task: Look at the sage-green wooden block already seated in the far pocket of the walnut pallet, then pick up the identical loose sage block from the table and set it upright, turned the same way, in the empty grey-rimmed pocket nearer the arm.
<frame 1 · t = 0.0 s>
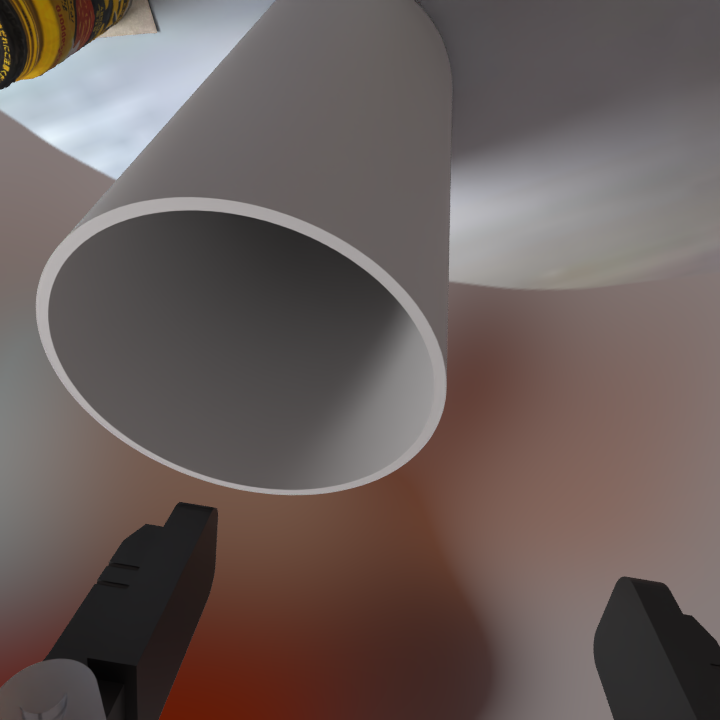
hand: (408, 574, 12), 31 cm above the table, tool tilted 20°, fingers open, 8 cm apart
cylinder vase: (350, 88, 36), on the table
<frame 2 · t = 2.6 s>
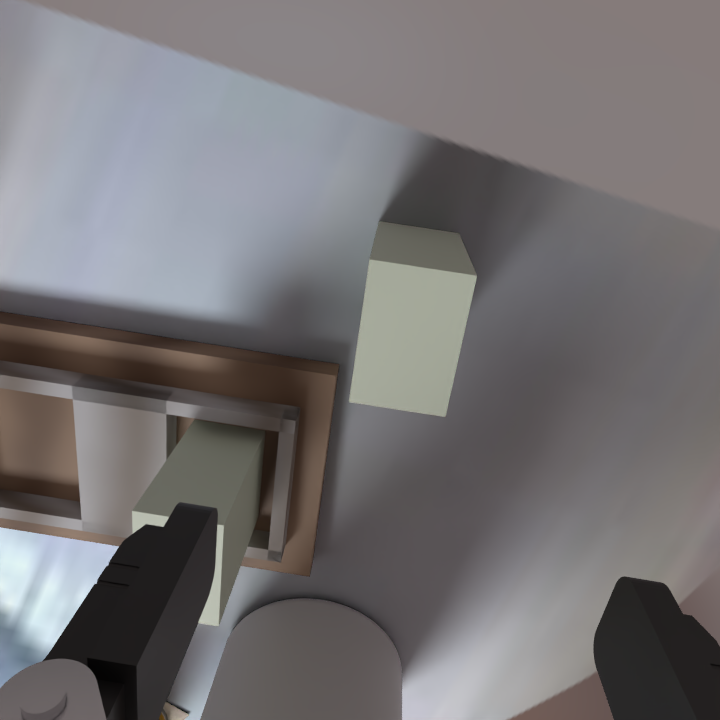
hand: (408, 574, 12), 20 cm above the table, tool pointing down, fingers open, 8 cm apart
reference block: (227, 469, 33), resting on pallet
pallet: (144, 441, 35), on the table
loose block: (408, 285, 30), on the table
condiment: (125, 716, 46), on the table
cylinder vase: (314, 656, 41), on the table
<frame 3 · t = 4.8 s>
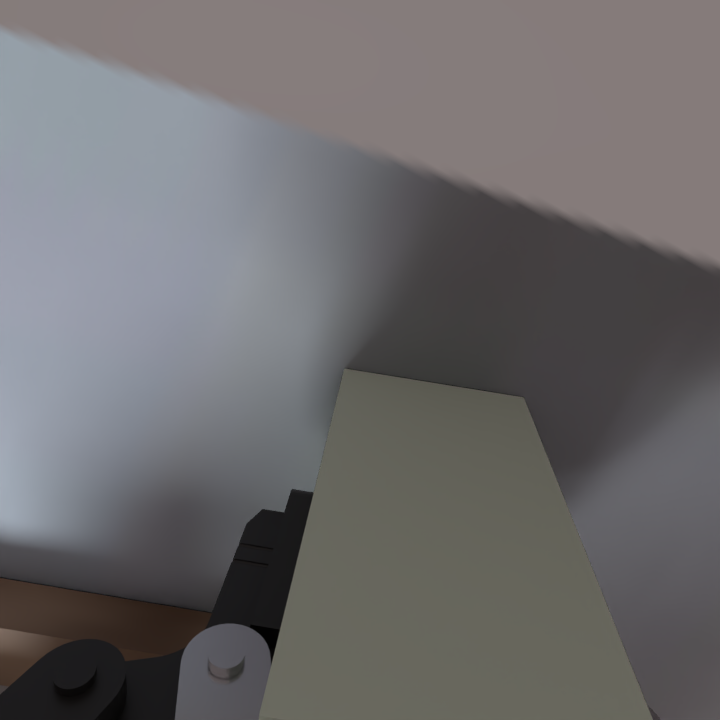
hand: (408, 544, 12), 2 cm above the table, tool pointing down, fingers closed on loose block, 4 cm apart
loose block: (409, 493, 14), on the table, touching gripper
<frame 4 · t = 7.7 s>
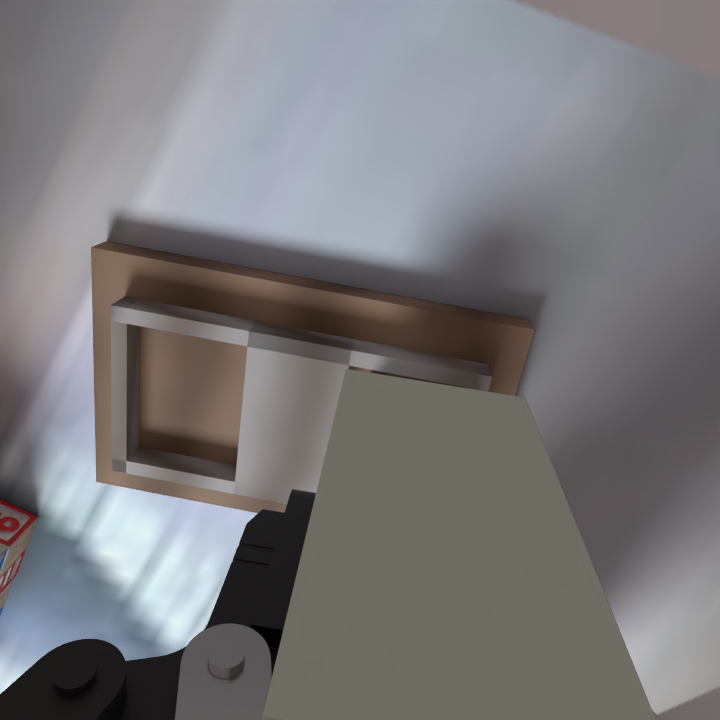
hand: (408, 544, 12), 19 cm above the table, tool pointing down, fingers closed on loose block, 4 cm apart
pallet: (299, 400, 32), on the table
loose block: (411, 493, 14), point 17 cm above the table, touching gripper
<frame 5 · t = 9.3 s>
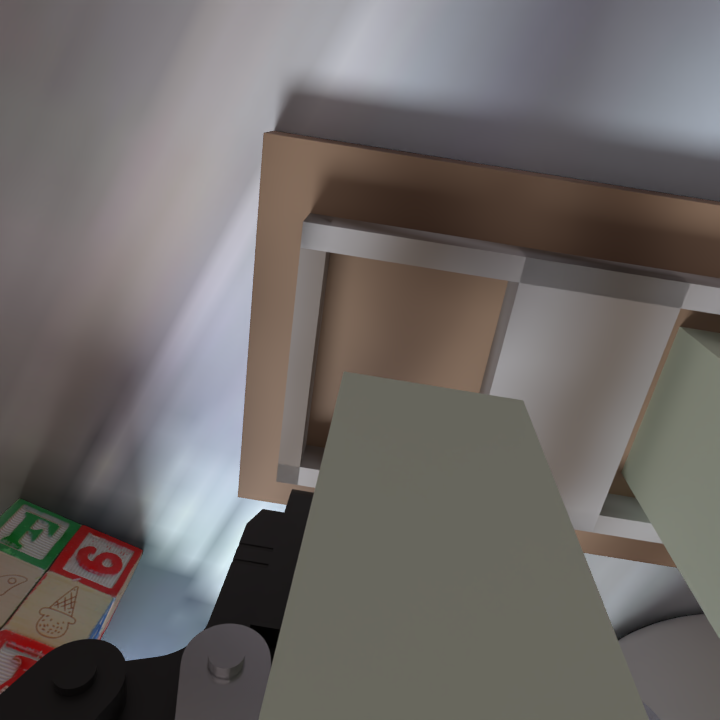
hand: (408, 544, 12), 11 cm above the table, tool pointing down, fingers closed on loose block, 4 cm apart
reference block: (703, 412, 21), resting on pallet
pallet: (542, 370, 22), on the table
stack of blocks: (32, 655, 31), on the table
loose block: (409, 495, 14), point 9 cm above the table, touching gripper
cylinder vase: (692, 694, 29), on the table
when the fingers open (4 cm above the table, at t = 10.8 s): loose block stays where it is, resting on pallet.
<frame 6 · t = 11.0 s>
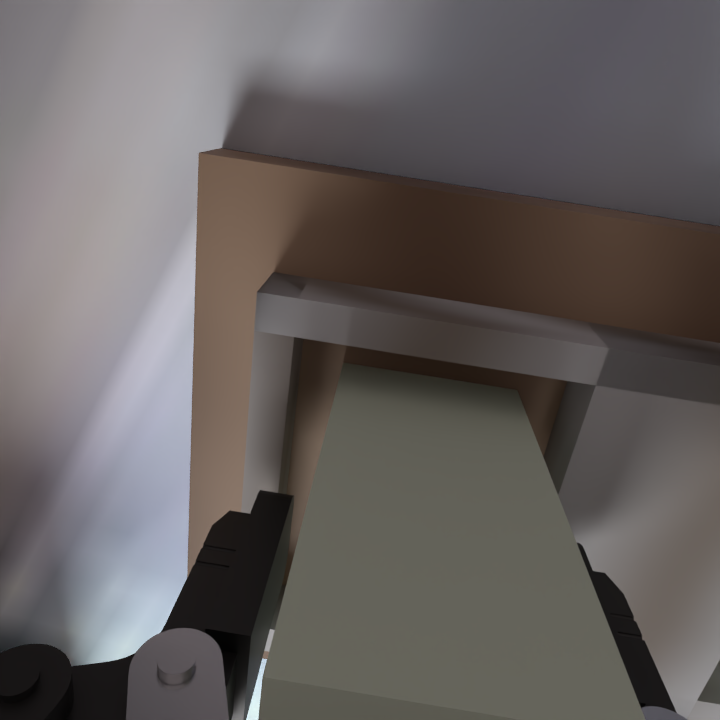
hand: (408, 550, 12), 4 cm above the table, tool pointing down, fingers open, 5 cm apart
pallet: (609, 483, 16), on the table
loose block: (407, 484, 14), point 1 cm above the table, touching pallet
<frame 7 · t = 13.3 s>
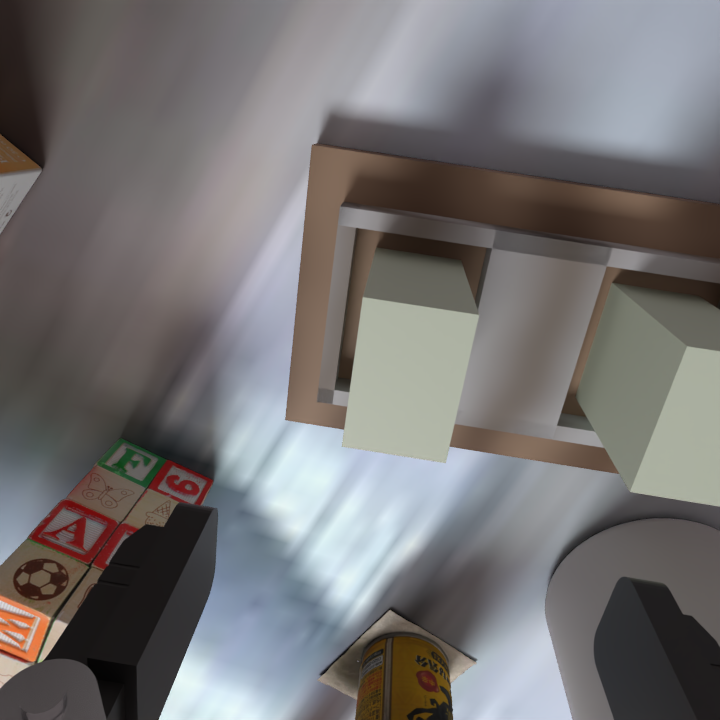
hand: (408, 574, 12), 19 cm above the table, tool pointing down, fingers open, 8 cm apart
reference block: (634, 348, 28), resting on pallet
pallet: (515, 320, 29), on the table
stack of blocks: (117, 572, 39), on the table
loose block: (407, 314, 28), point 1 cm above the table, touching pallet
condiment: (395, 665, 40), on the table
cylinder vase: (645, 591, 36), on the table
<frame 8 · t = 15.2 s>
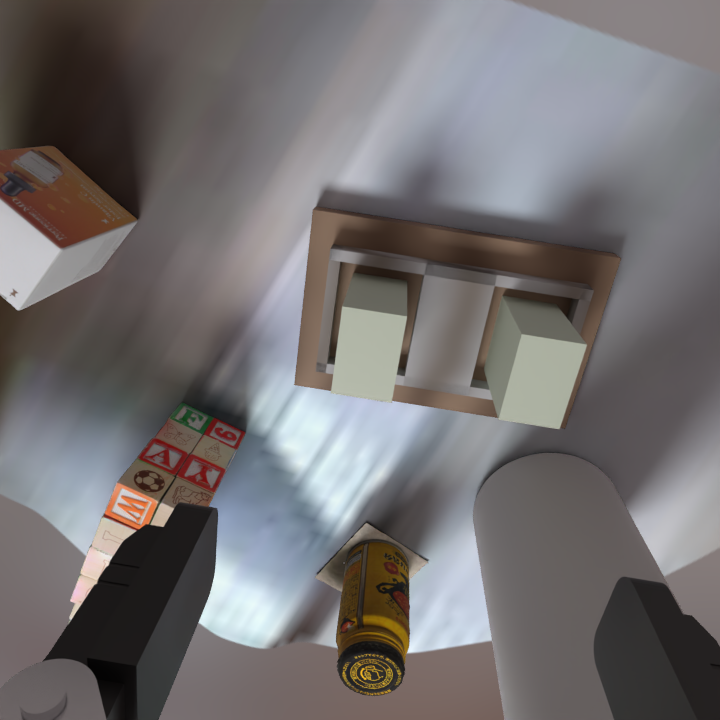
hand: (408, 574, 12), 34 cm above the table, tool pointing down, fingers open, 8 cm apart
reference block: (518, 337, 44), resting on pallet
pallet: (445, 319, 45), on the table
small box: (79, 209, 44), on the table
stack of blocks: (173, 500, 55), on the table
loose block: (374, 314, 44), point 1 cm above the table, touching pallet
condiment: (371, 566, 56), on the table
cylinder vase: (542, 507, 52), on the table
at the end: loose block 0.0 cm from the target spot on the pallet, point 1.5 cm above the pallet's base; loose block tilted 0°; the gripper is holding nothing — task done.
